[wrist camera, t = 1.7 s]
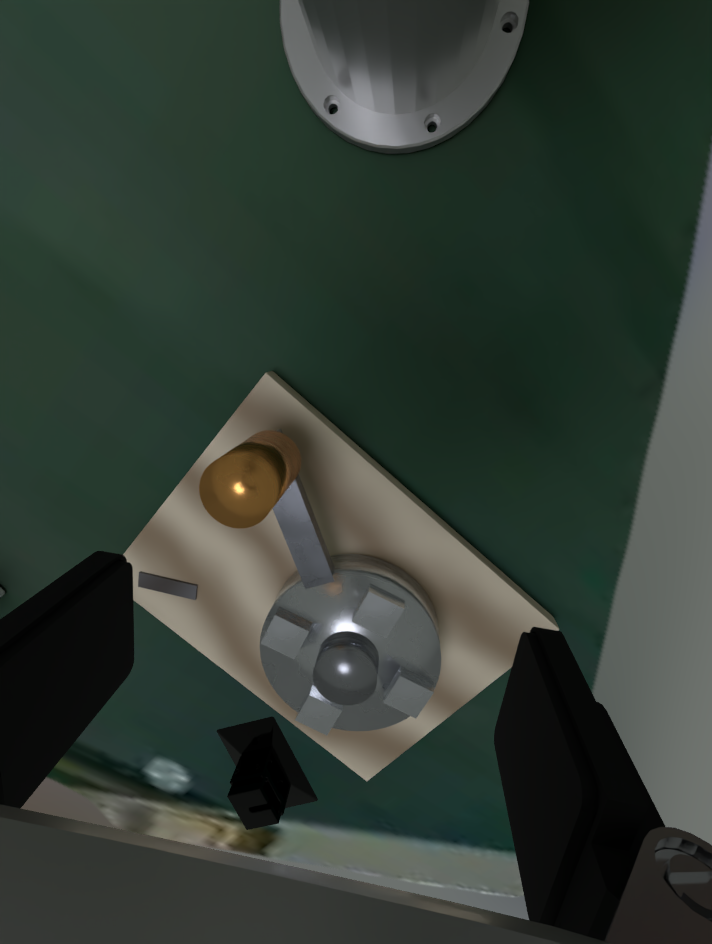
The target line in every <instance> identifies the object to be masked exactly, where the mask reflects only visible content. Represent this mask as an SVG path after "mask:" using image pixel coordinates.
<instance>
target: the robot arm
mask: <svg viewBox="0 0 712 944" xmlns="http://www.w3.org/2000/svg"><path fill="white" fill-rule="evenodd" d="M528 6H529V0H280V26H281V33H282V40H283V46H284V50H285V54H286V57H287V60H288V63H289V66H290V69H291V72H292V75H293V77H294V79H295V81H296V83H297V86H298V88H299V90H300V92H301V94H302V95H303V97H304V98H305V100H306V102H307V103H308V105H309V106H310V108H311V109H312V111H313V112H314V114H315V115H316V116H317V117H318V118H319V119H320V120H321V121H322V122H323V123H324V124H325V125H326V126H327V127H328V128H329V129H330V130H331V131H333V132H334V133H335V134H337V135H338V136H340V137H341V138H343V139H344V140H345V141H347V142H349V143H351V144H354V145H356V146H358V147H361V148H363V149H365V150H369V151H375V152H380V153H386V154H397V153H411V152H415V151H419V150H423V149H427V148H431V147H433V146H435V145H437V144H439V143H441V142H443V141H445V140H447V139H449V138H451V137H453V136H454V135H455V134H457V133H458V132H459V131H461V130H462V129H463V128H465V127H466V126H467V125H469V124H470V123H471V122H472V121H473V120H474V119H475V118H476V117H477V116H478V115H479V114H480V113H481V112H482V110H483V109H484V108H485V107H486V106H487V105H488V104H489V103H490V101H491V100H492V98H493V97H494V95H495V94H496V92H497V91H498V89H499V88H500V86H501V85H502V83H503V82H504V79H505V77H506V75H507V73H508V71H509V69H510V66H511V64H512V62H513V60H514V58H515V55H516V52H517V49H518V46H519V43H520V40H521V38H522V35H523V31H524V26H525V21H526V16H527V11H528ZM504 28H509V29H510V31H511V33H506V32H504V31H503V30H502V29H504ZM333 107H336V108H338V111H337V112H336V113H335V114H330V110H331V108H333ZM430 125H434V126H436V128H437V129H436V131H435V132H432V133H430V132H428V130H427V128H428V126H430ZM133 663H134V618H133V567H132V564H131V563H129V562H127V559H126V557H125V556H124V555H121V554H115V553H109V552H104V551H97V552H95V553H93V554H92V555H90V556H89V557H87V558H86V559H85V560H83V561H82V562H80V563H79V564H78V565H76V566H75V567H73V568H72V569H71V570H69V571H68V572H66V573H65V574H64V575H62V576H61V577H59V578H58V579H57V580H55V581H54V582H52V583H51V584H50V585H48V586H47V587H45V588H44V589H43V590H41V591H40V592H38V593H37V594H36V595H34V596H33V597H31V598H30V599H29V600H27V601H26V602H24V603H23V604H21V605H20V606H19V607H17V608H16V609H14V610H13V611H12V612H10V613H9V614H7V615H6V616H5V617H3V618H2V619H0V944H712V845H710V844H709V843H707V842H706V841H704V840H702V839H700V838H698V837H697V836H695V835H693V834H691V833H689V832H686V831H683V830H680V829H677V828H672V827H665V825H664V823H663V821H662V819H661V817H660V815H659V813H658V811H657V809H656V807H655V805H654V803H653V802H652V799H651V797H650V795H649V793H648V791H647V789H646V787H645V785H644V784H643V782H642V780H641V778H640V776H639V774H638V772H637V770H636V768H635V766H634V764H633V762H632V760H631V758H630V756H629V754H628V752H627V750H626V748H625V746H624V744H623V742H622V740H621V739H620V736H619V734H618V732H617V730H616V728H615V726H614V724H613V722H612V721H611V718H610V717H609V715H608V713H607V711H606V709H605V708H604V707H603V705H602V704H600V703H599V702H596V701H595V698H594V696H593V694H592V692H591V690H590V688H589V686H588V684H587V682H586V680H585V678H584V676H583V674H582V672H581V670H580V668H579V666H578V664H577V662H576V660H575V658H574V656H573V654H572V652H571V650H570V648H569V646H568V644H567V642H566V639H565V637H564V635H563V634H562V632H560V631H556V630H550V629H545V628H539V627H532V629H531V630H530V632H529V633H528V632H523V633H522V634H521V636H520V640H519V643H518V647H517V651H516V654H515V658H514V661H513V665H512V669H511V672H510V676H509V680H508V683H507V687H506V691H505V694H504V698H503V701H502V705H501V709H500V712H499V716H498V720H497V723H496V727H495V734H494V744H495V750H496V755H497V760H498V765H499V770H500V776H501V781H502V786H503V791H504V796H505V801H506V806H507V811H508V816H509V821H510V826H511V831H512V836H513V841H514V846H515V851H516V856H517V861H518V866H519V871H520V877H521V882H522V887H523V892H524V897H525V901H526V907H527V912H528V916H529V920H525V919H521V918H517V917H513V916H508V915H504V914H500V913H496V912H492V911H488V910H484V909H479V908H475V907H471V906H467V905H463V904H459V903H454V902H451V901H446V900H441V899H436V898H432V897H428V896H423V895H419V894H414V893H410V892H405V891H401V890H396V889H392V888H387V887H383V886H378V885H374V884H369V883H364V882H360V881H356V880H351V879H347V878H342V877H338V876H333V875H328V874H324V873H319V872H315V871H311V870H306V869H301V868H297V867H293V866H288V865H283V864H279V863H274V862H269V861H265V860H260V859H255V858H251V857H246V856H242V855H237V854H233V853H228V852H223V851H219V850H214V849H209V848H205V847H200V846H195V845H191V844H186V843H181V842H177V841H172V840H167V839H163V838H158V837H153V836H149V835H144V834H139V833H135V832H130V831H125V830H120V829H116V828H111V827H106V826H101V825H96V824H92V823H87V822H82V821H77V820H72V819H67V818H63V817H58V816H53V815H48V814H44V813H39V812H34V811H29V810H24V809H20V808H21V807H22V806H23V805H24V803H25V802H26V801H27V800H28V798H29V797H30V796H31V795H32V794H33V792H34V791H35V790H36V789H37V787H38V786H39V785H40V784H41V782H42V781H43V780H44V779H45V778H46V776H47V775H48V774H49V773H50V771H51V770H52V769H53V768H54V766H55V765H56V764H57V763H58V762H59V760H60V759H61V758H62V757H63V755H64V754H65V753H66V752H67V750H68V749H69V748H70V747H71V746H72V744H73V743H74V742H75V741H76V739H77V738H78V737H79V736H80V734H81V733H82V732H83V731H84V730H85V728H86V727H87V726H88V725H89V723H90V722H91V721H92V720H93V718H94V717H95V716H96V715H97V713H98V712H99V711H100V710H101V709H102V707H103V706H104V705H105V704H106V702H107V701H108V700H109V699H110V697H111V696H112V695H113V694H114V693H115V691H116V690H117V689H118V688H119V686H120V685H121V684H122V683H123V681H124V680H125V679H126V678H127V676H128V675H129V673H130V671H131V669H132V667H133Z"/></svg>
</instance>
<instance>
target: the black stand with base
mask: <svg viewBox="0 0 712 944" xmlns="http://www.w3.org/2000/svg"><path fill="white" fill-rule="evenodd" d="M217 733H218V734H219V736H220V738H221V740H222V742H223V743H224V745H225V747H226V749H227V751H228V752H229V754H230V756H231V758H232V760H233V761H234V763H235V765H236V769H235V771H234V774H233V776H232V779H231V781H230V783H231V785H232V786H231V788H230V791H229V793H228V796H227V797H228V798H229V800H230V802H231V803H232V805H233V807H234V809H235V810H236V812H237V814H238V816H239V817H240V819H241V821H242V822H243V824H244V826H245V828H246V829H247V830H248V829H253V828H258V827H263V826H268V825H273V824H278V823H279V820H280V816H281V815H283V813H284V810H285V808H287V807H292V806H296V805H301V804H305V803H310V802H314V801H317V800H318V799H317V797H316V795H315V793H314V791H313V789H312V787H311V786H310V784H309V782H308V780H307V778H306V776H305V774H304V773H303V771H302V769H301V767H300V765H299V763H298V761H297V760H296V758H295V756H294V754H293V752H292V750H291V748H290V746H289V745H288V743H287V741H286V739H285V737H284V735H283V733H282V732H281V730H280V728H279V726H278V724H277V722H276V720H275V719H274V717H268V718H264V719H260V720H256V721H252V722H248V723H244V724H239V725H235V726H231V727H227V728H223V729H219V730H217Z"/></svg>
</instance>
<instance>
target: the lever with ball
mask: <svg viewBox="0 0 712 944" xmlns="http://www.w3.org/2000/svg"><path fill="white" fill-rule="evenodd" d="M300 468H301V456H300V452H299V450H298V447H297V446H296V444H295V443H294V442H293V441H292V440H291V439H290V438H289V437H288V436H287V435H285V434H283V432H282V430H281V429H278V430H275V431H273V430H265V431H260V432H258V433H256V434H254V435H252V436H251V437H249V438H248V439H246V440H245V441H243V442H242V443H240V444H239V445H237V446H236V447H234V448H233V449H231V450H230V451H228V452H227V453H226V454H224V455H223V456H221V457H220V458H218V459H217V460H215V461H214V462H212V463H211V464H210V465H209V466H208V467H207V468H206V469H205V470H204V472H203V474H202V476H201V479H200V484H199V493H200V498H201V501H202V504H203V506H204V508H205V509H206V511H207V512H208V513H209V514H210V516H212V517H213V518H214V519H215V520H216V521H218V522H219V523H221V524H223V525H225V526H228V527H231V528H240V529H242V528H249V527H252V526H255V525H257V524H258V523H260V522H261V521H262V520H263V519H265V517H266V516H267V515H268V514H269V512H270V511H271V510H272V509H273V511H274V513H275V516H276V518H277V521H278V523H279V526H280V528H281V531H282V533H283V536H284V538H285V540H286V543H287V545H288V548H289V550H290V553H291V555H292V558H293V560H294V563H295V565H296V567H297V570H298V571H296V572H295V573H294V574H293V575H292V576H291V577H290V578H289V579H288V580H287V581H286V583H285V584H284V585H283V587H282V588H281V590H280V592H279V593H278V595H277V597H276V599H275V601H274V603H273V605H272V607H271V609H270V611H269V613H268V615H267V617H266V620H265V622H264V625H263V627H262V632H261V636H260V657H261V662H262V666H263V669H264V672H265V674H266V677H267V678H268V680H269V682H270V684H271V686H272V687H273V689H274V690H275V691H276V693H277V694H278V695H279V696H280V697H281V698H282V700H283V701H284V702H285V703H286V704H288V705H289V706H290V707H291V708H292V709H294V710H295V711H296V712H297V715H296V718H295V721H297V722H299V723H302V724H304V725H306V726H308V727H310V728H312V729H314V730H316V731H318V732H320V733H322V734H324V735H326V736H327V735H328V733H329V732H330V730H331V728H334V729H340V730H346V731H371V730H378V729H382V728H386V727H389V726H392V725H394V724H397V723H399V722H401V721H403V720H405V719H407V718H408V717H410V716H411V717H413V718H417V717H418V715H419V714H420V712H421V711H422V709H423V708H424V706H425V705H426V704H427V702H428V701H429V699H430V698H431V696H432V695H433V693H434V689H435V687H436V684H437V682H438V679H439V675H440V670H441V649H440V638H439V628H438V620H437V616H436V612H435V609H434V607H433V604H432V602H431V600H430V599H429V597H428V595H427V593H426V592H425V591H424V589H423V588H422V587H421V586H420V584H419V583H418V582H417V581H415V580H414V579H413V578H412V577H411V576H410V575H409V574H407V573H406V572H405V571H403V570H402V569H400V568H398V567H397V566H395V565H393V564H391V563H389V562H386V561H384V560H382V559H378V558H375V557H371V556H366V555H360V554H338V555H332V556H330V554H329V552H328V549H327V546H326V544H325V541H324V539H323V536H322V533H321V531H320V528H319V526H318V523H317V520H316V518H315V515H314V513H313V510H312V507H311V505H310V502H309V500H308V497H307V495H306V492H305V489H304V487H303V484H302V482H301V479H300V476H299V471H300Z"/></svg>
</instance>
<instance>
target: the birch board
mask: <svg viewBox="0 0 712 944" xmlns="http://www.w3.org/2000/svg"><path fill="white" fill-rule="evenodd" d="M278 429H281V430H282V432H283V434H285V435H287V436H288V437H289V438H290V439H291V440H292V441H293V442H294V443H295V444H296V446H297V447H298V450H299V452H300V456H301V468H300V471H299V476H300V479H301V482H302V484H303V487H304V489H305V492H306V495H307V497H308V500H309V502H310V505H311V507H312V510H313V513H314V515H315V518H316V520H317V523H318V526H319V528H320V531H321V533H322V536H323V539H324V541H325V544H326V546H327V549H328V552H329V554H330V556H332V555H338V554H360V555H366V556H371V557H375V558H378V559H382V560H384V561H386V562H389V563H391V564H393V565H395V566H397V567H398V568H400V569H402V570H403V571H405V572H406V573H407V574H409V575H410V576H411V577H412V578H413V579H414V580H415V581H417V582H418V583H419V584H420V586H421V587H422V588H423V589H424V591H425V592H426V593H427V595H428V597H429V599H430V600H431V602H432V604H433V607H434V609H435V612H436V616H437V620H438V628H439V638H440V649H441V670H440V675H439V679H438V682H437V684H436V687H435V689H434V693H433V695H432V696H431V698H430V699H429V701H428V702H427V704H426V705H425V706H424V708H423V709H422V711H421V712H420V714H419V715H418V717H417V718H413V717H411V716H410V717H408V718H407V719H405V720H403V721H401V722H399V723H397V724H394V725H392V726H389V727H386V728H382V729H378V730H371V731H346V730H340V729H334V728H331V730H330V732H329V733H328V735H327V736H326V735H324V734H322V733H320V732H318V731H316V730H314V729H312V728H310V727H308V726H306V725H304V724H302V723H299V722H297V721H295V718H296V715H297V712H296V711H295V710H294V709H292V708H291V707H290V706H289V705H288V704H286V703H285V702H284V701H283V700H282V698H281V697H280V696H279V695H278V694H277V693H276V691H275V690H274V689H273V687H272V686H271V684H270V682H269V680H268V678H267V677H266V674H265V672H264V669H263V666H262V662H261V657H260V636H261V632H262V627H263V625H264V622H265V620H266V617H267V615H268V613H269V611H270V609H271V607H272V605H273V603H274V601H275V599H276V597H277V595H278V593H279V592H280V590H281V588H282V587H283V585H284V584H285V583H286V581H287V580H288V579H289V578H290V577H291V576H292V575H293V574H294V573H295V572H296V571H298V570H297V567H296V565H295V563H294V560H293V558H292V555H291V553H290V550H289V548H288V545H287V543H286V540H285V538H284V536H283V533H282V531H281V528H280V526H279V523H278V521H277V518H276V516H275V513H274V511H273V509H272V510H271V511H270V512H269V514H268V515H267V516H266V517H265V519H263V520H262V521H261V522H260V523H258V524H257V525H255V526H252V527H249V528H242V529H240V528H231V527H228V526H225V525H223V524H221V523H219V522H218V521H216V520H215V519H214V518H213V517H212V516H210V514H209V513H208V512H207V511H206V509H205V508H204V506H203V504H202V501H201V498H200V493H199V484H200V479H201V476H202V474H203V472H204V470H205V469H206V468H207V467H208V466H209V465H210V464H211V463H212V462H214V461H215V460H217V459H218V458H220V457H221V456H223V455H224V454H226V453H227V452H228V451H230V450H231V449H233V448H234V447H236V446H237V445H239V444H240V443H242V442H243V441H245V440H246V439H248V438H249V437H251V436H252V435H254V434H256V433H258V432H260V431H265V430H273V431H275V430H278ZM123 555H124V556H125V557H126V559H127V562H129V563H131V564H132V567H133V600H134V601H136V602H137V603H138V604H139V605H141V606H142V607H143V608H145V609H146V610H147V611H148V612H150V613H151V614H152V615H154V616H155V617H156V618H157V619H159V620H160V621H161V622H163V623H164V624H165V625H166V626H168V627H169V628H170V629H172V630H173V631H174V632H175V633H177V634H178V635H179V636H181V637H182V638H183V639H184V640H186V641H187V642H188V643H190V644H191V645H192V646H193V647H195V648H196V649H197V650H199V651H200V652H201V653H202V654H204V655H205V656H206V657H208V658H209V659H210V660H211V661H213V662H214V663H215V664H217V665H218V666H219V667H220V668H222V669H223V670H224V671H226V672H227V673H228V674H229V675H231V676H232V677H233V678H235V679H236V680H237V681H238V682H240V683H241V684H242V685H244V686H245V687H246V688H247V689H249V690H250V691H251V692H253V693H254V694H255V695H256V696H258V697H259V698H260V699H262V700H263V701H264V702H265V703H267V704H268V705H269V706H271V707H272V708H273V709H274V710H276V711H277V712H278V713H280V714H281V715H282V716H284V717H285V718H286V719H287V720H289V721H290V722H291V723H293V724H294V725H295V726H296V727H298V728H299V729H300V730H302V731H303V732H304V733H305V734H307V735H308V736H309V737H311V738H312V739H313V740H314V741H316V742H317V743H318V744H320V745H321V746H322V747H323V748H325V749H326V750H327V751H329V752H330V753H331V754H332V755H334V756H335V757H336V758H338V759H339V760H340V761H341V762H343V763H344V764H345V765H347V766H348V767H349V768H350V769H352V770H353V771H354V772H356V773H357V774H358V775H359V776H361V777H362V778H363V779H365V780H366V781H368V780H369V779H370V778H372V777H373V776H374V775H375V774H377V773H378V772H379V771H381V770H382V769H383V768H384V767H386V766H387V765H388V764H389V763H391V762H392V761H393V760H394V759H396V758H397V757H398V756H400V755H401V754H402V753H403V752H405V751H406V750H407V749H408V748H410V747H411V746H412V745H413V744H415V743H416V742H417V741H419V740H420V739H421V738H422V737H424V736H425V735H426V734H427V733H429V732H430V731H431V730H433V729H434V728H435V727H436V726H438V725H439V724H440V723H441V722H443V721H444V720H445V719H446V718H448V717H449V716H450V715H452V714H453V713H454V712H455V711H457V710H458V709H459V708H460V707H462V706H463V705H464V704H465V703H467V702H468V701H469V700H471V699H472V698H473V697H474V696H476V695H477V694H478V693H479V692H481V691H482V690H483V689H484V688H486V687H487V686H488V685H490V684H491V683H492V682H493V681H495V680H496V679H497V678H498V677H500V676H501V675H502V674H504V673H505V672H506V671H507V670H509V669H510V668H511V667H512V665H513V661H514V658H515V654H516V651H517V647H518V643H519V640H520V636H521V634H522V633H523V632H528V633H529V632H530V630H531V629H532V627H539V628H545V629H550V630H556V631H558V630H559V627H558V625H557V623H556V621H555V619H554V617H553V616H552V615H551V614H550V613H548V612H547V611H546V610H545V609H544V608H543V607H542V606H540V605H539V604H538V603H537V602H536V601H535V600H534V599H532V598H531V597H530V596H529V595H528V594H527V593H526V592H524V591H523V590H522V589H521V588H520V587H519V586H518V585H516V584H515V583H514V582H513V581H512V580H511V579H510V578H508V577H507V576H506V575H505V574H504V573H503V572H502V571H500V570H499V569H498V568H497V567H496V566H495V565H494V564H492V563H491V562H490V561H489V560H488V559H487V558H486V557H484V556H483V555H482V554H481V553H480V552H479V551H478V550H476V549H475V548H474V547H473V546H472V545H471V544H470V543H468V542H467V541H466V540H465V539H464V538H463V537H462V536H460V535H459V534H458V533H457V532H456V531H455V530H454V529H452V528H451V527H450V526H449V525H448V524H447V523H446V522H444V521H443V520H442V519H441V518H440V517H439V516H438V515H436V514H435V513H434V512H433V511H432V510H431V509H430V508H429V507H427V506H426V505H425V504H424V503H423V502H422V501H421V500H419V499H418V498H417V497H416V496H415V495H414V494H413V493H411V492H410V491H409V490H408V489H407V488H406V487H405V486H403V485H402V484H401V483H400V482H399V481H398V480H397V479H395V478H394V477H393V476H392V475H391V474H390V473H389V472H387V471H386V470H385V469H384V468H383V467H382V466H381V465H379V464H378V463H377V462H376V461H375V460H374V459H373V458H371V457H370V456H369V455H368V454H367V453H366V452H365V451H363V450H362V449H361V448H360V447H359V446H358V445H357V444H355V443H354V442H353V441H352V440H351V439H350V438H349V437H347V436H346V435H345V434H344V433H343V432H342V431H341V430H339V429H338V428H337V427H336V426H335V425H334V424H333V423H331V422H330V421H329V420H328V419H327V418H326V417H325V416H323V415H322V414H321V413H320V412H319V411H318V410H317V409H316V408H314V407H313V406H312V405H311V404H310V403H309V402H308V401H306V400H305V399H304V398H303V397H302V396H301V395H300V394H298V393H297V392H296V391H295V390H294V389H293V388H292V387H290V386H289V385H288V384H287V383H286V382H285V381H284V380H282V379H281V378H280V377H279V376H278V375H277V374H276V373H274V372H273V371H270V372H267V373H265V374H264V376H263V377H262V378H261V379H260V381H259V382H258V383H257V385H256V386H255V387H254V388H253V390H252V391H251V392H250V394H249V395H248V396H247V397H246V399H245V400H244V401H243V402H242V404H241V405H240V406H239V408H238V409H237V410H236V411H235V413H234V414H233V415H232V417H231V418H230V419H229V420H228V422H227V423H226V424H225V425H224V427H223V428H222V429H221V431H220V432H219V433H218V434H217V436H216V437H215V438H214V439H213V441H212V442H211V443H210V445H209V446H208V447H207V448H206V450H205V451H204V452H203V454H202V455H201V456H200V457H199V459H198V460H197V461H196V462H195V464H194V465H193V466H192V468H191V469H190V470H189V471H188V473H187V474H186V475H185V477H184V478H183V479H182V480H181V482H180V483H179V484H178V485H177V487H176V488H175V489H174V491H173V492H172V493H171V494H170V496H169V497H168V498H167V499H166V501H165V502H164V503H163V505H162V506H161V507H160V508H159V510H158V511H157V512H156V514H155V515H154V516H153V517H152V519H151V520H150V521H149V522H148V524H147V525H146V526H145V528H144V529H143V530H142V531H141V533H140V534H139V535H138V536H137V538H136V539H135V540H134V542H133V543H132V544H131V545H130V547H129V548H128V549H127V551H126V552H125V553H124V554H123Z"/></svg>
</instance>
